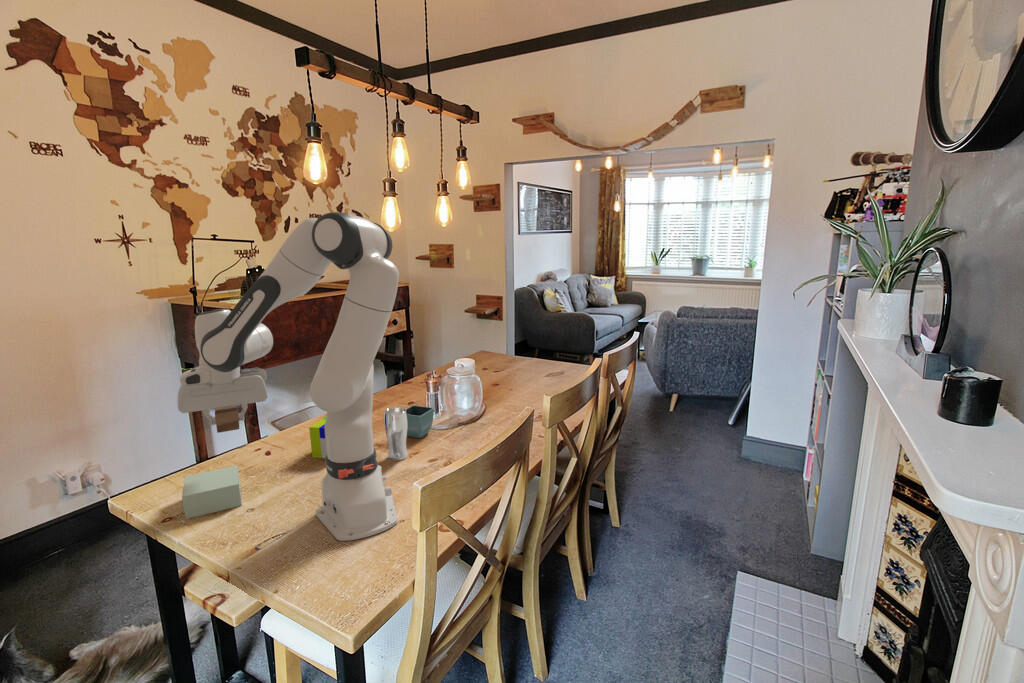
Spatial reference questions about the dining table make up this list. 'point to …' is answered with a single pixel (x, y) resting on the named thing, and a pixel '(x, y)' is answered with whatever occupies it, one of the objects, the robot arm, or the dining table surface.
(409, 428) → the flower pot
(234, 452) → the dining table surface
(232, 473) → the block
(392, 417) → the beer glass
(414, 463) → the dining table surface
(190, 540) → the dining table surface
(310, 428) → the puzzle toy
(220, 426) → the walnut cube
